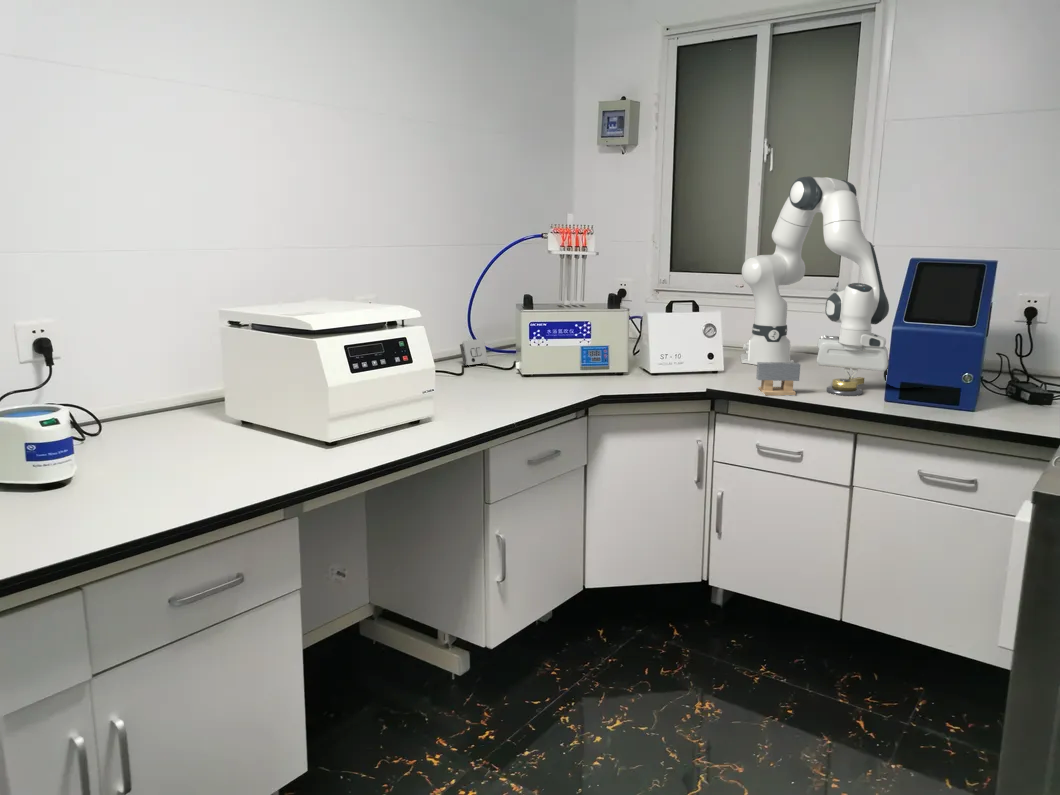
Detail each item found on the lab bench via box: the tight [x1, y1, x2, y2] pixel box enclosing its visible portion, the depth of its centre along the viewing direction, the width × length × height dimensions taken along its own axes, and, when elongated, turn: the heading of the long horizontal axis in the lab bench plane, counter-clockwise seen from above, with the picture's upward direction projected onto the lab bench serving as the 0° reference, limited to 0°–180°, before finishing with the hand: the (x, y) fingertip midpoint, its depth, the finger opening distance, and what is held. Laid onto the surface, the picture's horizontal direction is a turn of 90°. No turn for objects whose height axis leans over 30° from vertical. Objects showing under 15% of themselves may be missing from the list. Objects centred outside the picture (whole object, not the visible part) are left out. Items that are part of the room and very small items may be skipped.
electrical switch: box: [459, 338, 489, 366], centre depth 285 cm, size 9×5×9 cm, turn 132°
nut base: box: [826, 385, 863, 397], centre depth 239 cm, size 10×10×1 cm
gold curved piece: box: [831, 376, 865, 391], centre depth 240 cm, size 12×7×3 cm, turn 126°
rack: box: [757, 380, 797, 396], centre depth 238 cm, size 8×9×4 cm
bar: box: [756, 362, 801, 382], centre depth 237 cm, size 3×12×5 cm, turn 85°
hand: (849, 382), depth 243 cm, fingers closed, pressing on gold curved piece
